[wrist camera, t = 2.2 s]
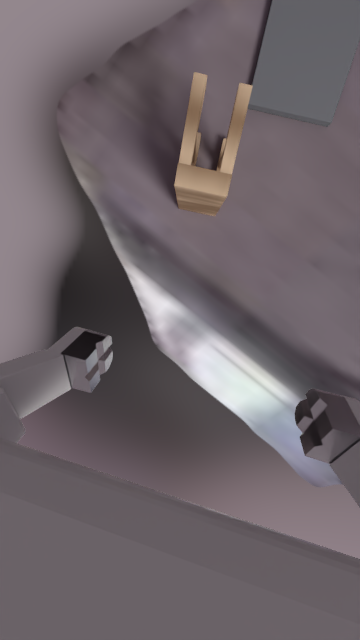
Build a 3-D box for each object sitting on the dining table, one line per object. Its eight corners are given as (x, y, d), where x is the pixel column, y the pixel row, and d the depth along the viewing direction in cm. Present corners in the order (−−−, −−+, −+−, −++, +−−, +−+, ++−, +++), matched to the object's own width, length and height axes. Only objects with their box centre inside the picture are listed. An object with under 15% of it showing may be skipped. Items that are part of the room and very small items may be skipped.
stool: (214, 216, 31) (226, 196, 21) (178, 208, 30) (174, 185, 21) (231, 145, 28) (253, 85, 18) (191, 136, 28) (193, 72, 18)
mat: (327, 126, 27) (331, 122, 26) (246, 108, 27) (247, 103, 26) (386, -50, 22) (393, -61, 22) (289, -74, 22) (292, -86, 21)
